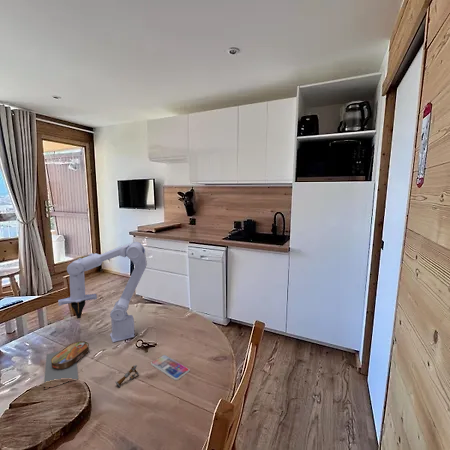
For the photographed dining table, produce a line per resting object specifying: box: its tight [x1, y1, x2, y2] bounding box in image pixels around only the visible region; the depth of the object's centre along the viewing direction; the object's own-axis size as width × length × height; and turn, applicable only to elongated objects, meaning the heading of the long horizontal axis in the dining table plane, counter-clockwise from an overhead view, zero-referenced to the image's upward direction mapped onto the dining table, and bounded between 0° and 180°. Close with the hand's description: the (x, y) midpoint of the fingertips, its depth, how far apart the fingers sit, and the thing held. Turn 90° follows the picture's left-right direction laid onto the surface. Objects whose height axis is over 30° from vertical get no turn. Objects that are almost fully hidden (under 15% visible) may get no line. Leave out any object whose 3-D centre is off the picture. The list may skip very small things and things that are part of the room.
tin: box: [51, 340, 90, 369], centre depth 102 cm, size 15×3×8 cm
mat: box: [43, 350, 79, 383], centre depth 98 cm, size 10×22×1 cm, turn 32°
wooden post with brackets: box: [115, 364, 139, 388], centre depth 91 cm, size 2×8×4 cm, turn 139°
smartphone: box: [150, 354, 191, 381], centre depth 99 cm, size 7×1×15 cm
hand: (78, 317), depth 114 cm, fingers closed
